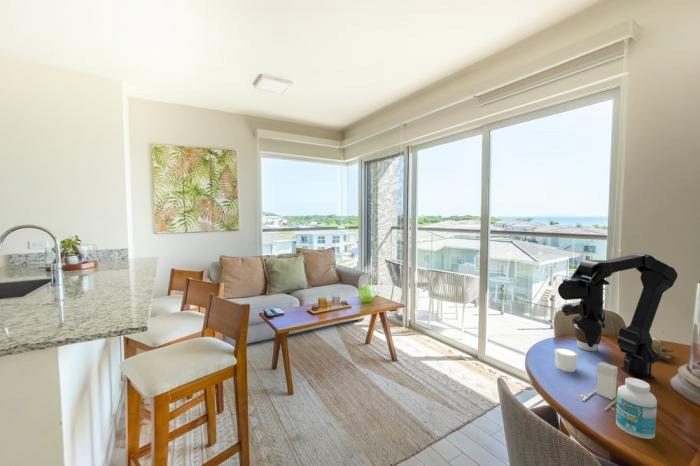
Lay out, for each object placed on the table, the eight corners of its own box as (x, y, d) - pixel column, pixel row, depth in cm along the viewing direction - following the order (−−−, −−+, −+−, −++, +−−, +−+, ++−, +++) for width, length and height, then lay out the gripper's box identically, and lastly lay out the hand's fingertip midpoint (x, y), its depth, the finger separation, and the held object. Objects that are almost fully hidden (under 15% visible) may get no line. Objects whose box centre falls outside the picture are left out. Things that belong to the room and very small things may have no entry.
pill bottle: (608, 422, 82) (610, 374, 81) (634, 422, 82) (637, 374, 81) (634, 443, 75) (637, 391, 74) (663, 442, 75) (666, 390, 74)
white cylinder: (581, 376, 105) (582, 357, 104) (559, 374, 106) (560, 355, 106) (571, 366, 112) (571, 348, 111) (550, 365, 113) (551, 346, 113)
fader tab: (600, 390, 95) (601, 361, 94) (616, 397, 91) (617, 367, 91) (596, 393, 93) (597, 363, 93) (612, 400, 90) (613, 369, 89)
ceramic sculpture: (624, 324, 129) (676, 336, 118) (622, 343, 130) (672, 357, 119) (621, 331, 122) (675, 344, 111) (618, 351, 123) (672, 366, 112)
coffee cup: (606, 356, 119) (608, 326, 118) (572, 350, 125) (573, 321, 124) (601, 345, 128) (603, 318, 127) (570, 340, 134) (571, 314, 133)
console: (595, 386, 99) (595, 382, 99) (631, 401, 91) (631, 396, 91) (575, 401, 91) (575, 396, 91) (612, 418, 84) (613, 413, 84)
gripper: (567, 288, 115) (567, 328, 116) (558, 300, 102) (558, 345, 103) (606, 292, 107) (605, 335, 108) (601, 306, 94) (601, 354, 95)
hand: (591, 342), depth 104 cm, fingers open, 9 cm apart
